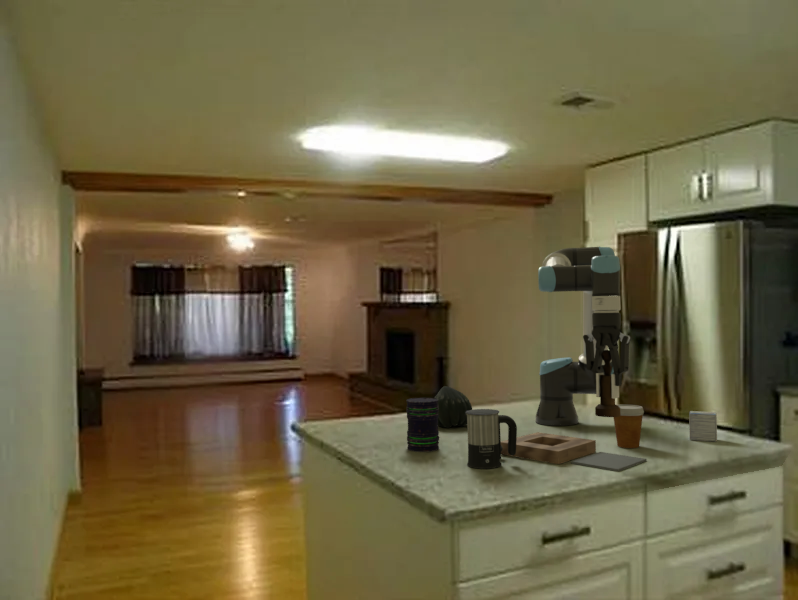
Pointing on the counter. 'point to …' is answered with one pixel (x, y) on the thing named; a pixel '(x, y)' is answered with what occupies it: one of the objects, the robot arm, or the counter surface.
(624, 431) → the disposable coffee cup
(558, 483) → the counter surface
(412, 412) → the storage jar
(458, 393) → the squash
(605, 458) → the mat
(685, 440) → the counter surface
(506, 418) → the milk frother
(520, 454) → the collar block
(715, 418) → the medicine box
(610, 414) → the wooden pepper mill
